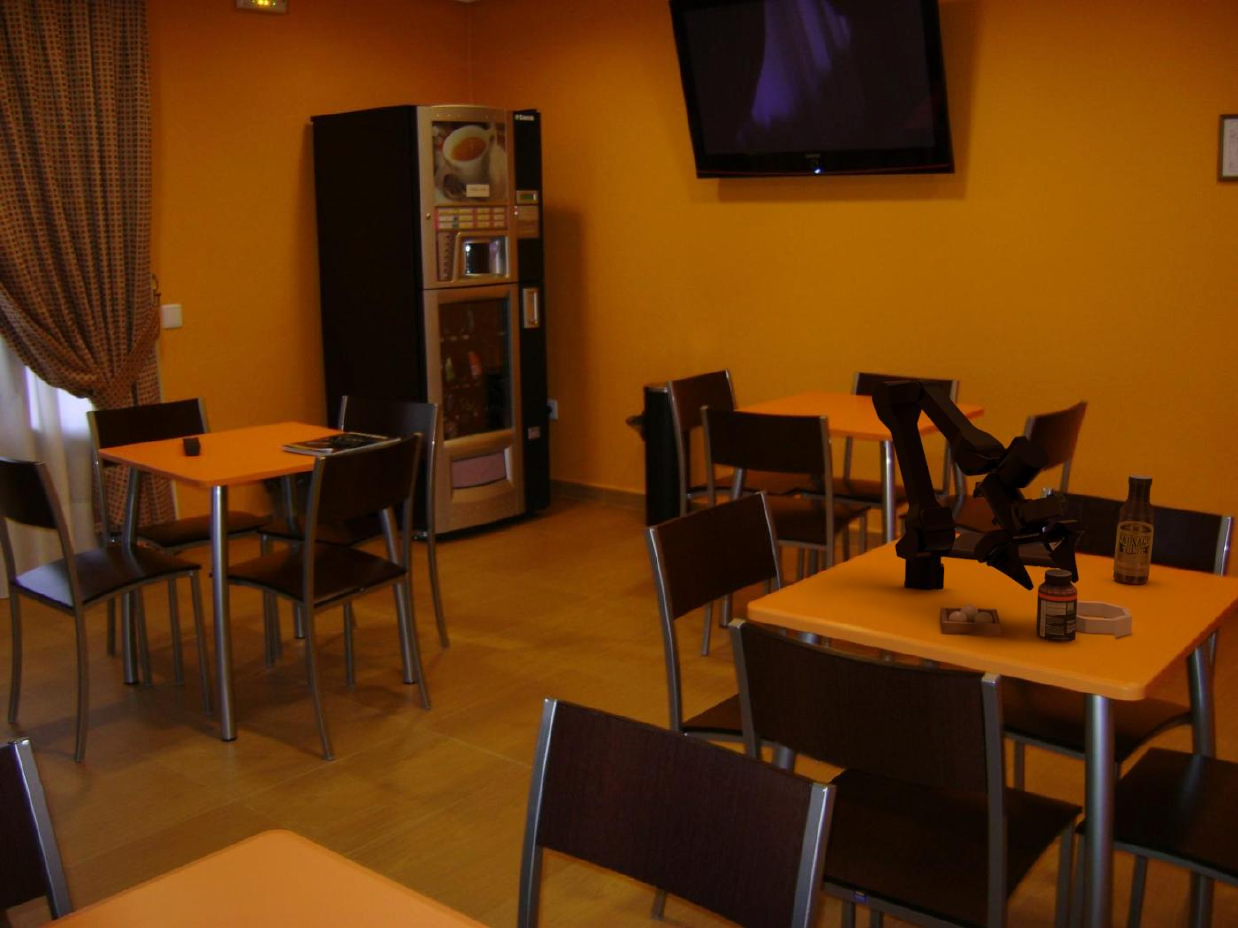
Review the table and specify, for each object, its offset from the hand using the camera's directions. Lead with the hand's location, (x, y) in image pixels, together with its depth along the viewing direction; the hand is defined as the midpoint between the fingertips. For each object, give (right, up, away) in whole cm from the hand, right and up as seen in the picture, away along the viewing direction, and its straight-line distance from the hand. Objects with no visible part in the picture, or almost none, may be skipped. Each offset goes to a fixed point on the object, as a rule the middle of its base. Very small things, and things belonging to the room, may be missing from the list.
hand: (1054, 585), depth 201 cm
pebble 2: (-11, -7, +8) cm, 15 cm away
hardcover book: (+10, 0, +56) cm, 57 cm away
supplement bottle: (0, -9, +1) cm, 9 cm away
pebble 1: (-14, -8, +5) cm, 17 cm away
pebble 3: (-10, -8, +4) cm, 13 cm away
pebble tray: (-12, -8, +6) cm, 16 cm away
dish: (+9, -8, +7) cm, 14 cm away
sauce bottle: (+26, -3, +35) cm, 43 cm away
